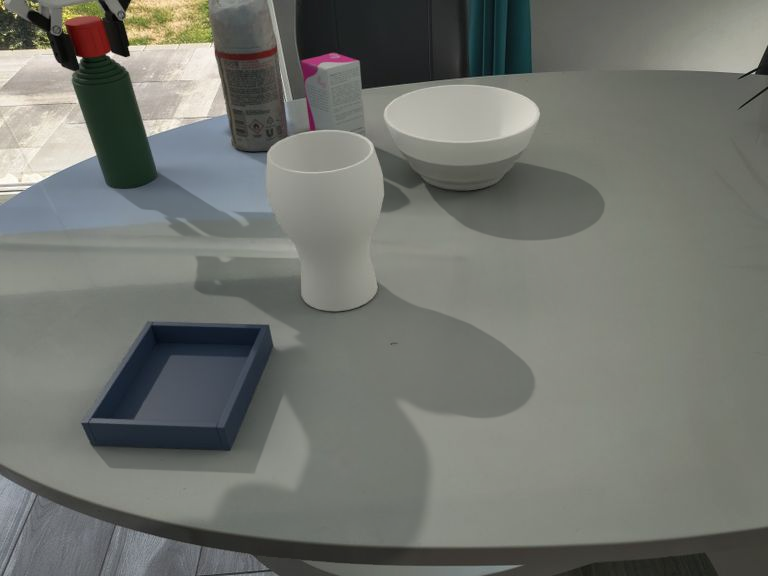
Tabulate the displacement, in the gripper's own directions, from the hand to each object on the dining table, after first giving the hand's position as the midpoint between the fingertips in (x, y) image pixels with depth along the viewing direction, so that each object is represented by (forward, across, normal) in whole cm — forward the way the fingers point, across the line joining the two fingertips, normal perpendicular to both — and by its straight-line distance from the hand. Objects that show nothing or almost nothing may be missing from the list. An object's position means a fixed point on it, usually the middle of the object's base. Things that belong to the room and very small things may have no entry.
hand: (96, 59), depth 86 cm
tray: (+15, -20, -42) cm, 49 cm away
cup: (+15, -1, -41) cm, 43 cm away
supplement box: (+15, +24, -13) cm, 32 cm away
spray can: (+15, +18, -4) cm, 24 cm away
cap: (-1, 0, 0) cm, 1 cm away
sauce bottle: (+15, 0, 0) cm, 15 cm away
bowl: (+15, +28, -33) cm, 46 cm away
